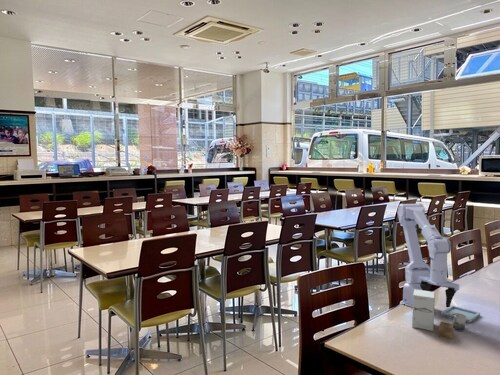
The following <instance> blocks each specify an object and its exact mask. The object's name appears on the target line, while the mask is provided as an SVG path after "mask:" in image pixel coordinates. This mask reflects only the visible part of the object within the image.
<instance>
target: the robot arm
mask: <svg viewBox="0 0 500 375" xmlns="http://www.w3.org/2000/svg"><path fill="white" fill-rule="evenodd" d="M396 213H397V218H398V221H399V224H400V225H402V228H403V232H404V239H405V243H406V249H407V253H408V257H409V262H410V263H409V264H407V265H406V266H405V268H404V270H405V276H404V277H405V281H406V282H405V283H404V285H403V289H402V302H401V304H402V305H404V304H405V305H404V306H408V307H411V308H413V294H414V289H417V290H424V291H430V292H431V288H432V285H434V286H438V287H442V288H445V290H444V292H445V298H446V299H445V307H446V308H449V307H450V306H451V304H452V300H453V299H454V296H455V294H456V293H457V292H458V291H460V284H458V283H455V282H451V281H449V280H448V279H447V278H448V277H447V276H448V254H449V253H451V250H452V246H451V245H452V244H451V242H450V239H449V238H447V237H444V236H442V235H441V233H440V232H439V230H438V229H437V227H436V226H435V225H432V224H430V222H429V220H428V218H427V216H426V208H425V206H424V205H423V203H419V202H418V203H400V204H399V205H398V207H397V212H396ZM416 225H418V226H419V228H420V229H421V231H420V233H421V235H422V236H423V238H424V240H425V241H426V242H427V249H428V255H429V258H430V264H427V263H426V262H424V260H423V255H422V251H421V246H420V241H419V238H418V234H417V229H416V228H417V227H416Z"/></svg>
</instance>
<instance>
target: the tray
mask: <svg viewBox="0 0 500 375" xmlns="http://www.w3.org/2000/svg"><path fill="white" fill-rule="evenodd" d="M454 313H459V314H463V315H465V316H466V322H465V323H466V324H472V323H473V322H474V321H476V320H477V319H478V318H479V317H480V316H481V312H478V311H475V310H471V309H467V308H463V307H460V306H456V305H453V304H452V305H450V307H446V308H445V309H444V310H443V311H441V312H440V314H441V316H443V317H446V318H449V319H453V314H454Z"/></svg>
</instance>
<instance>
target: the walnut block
mask: <svg viewBox="0 0 500 375" xmlns="http://www.w3.org/2000/svg"><path fill="white" fill-rule="evenodd" d="M453 335H454V329H453V323H450V322H444V321H440V322H439V325H438V337H441V338H444V339H450V340H452V339H453Z"/></svg>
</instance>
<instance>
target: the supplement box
mask: <svg viewBox="0 0 500 375" xmlns="http://www.w3.org/2000/svg"><path fill="white" fill-rule="evenodd" d="M435 300H436V292H435V291H431V290H430V291H424V290H417V289H414V294H413V307H412V316H411V317H412V318H411V322H412V323H411V327H412V328H416V329H422V330H427V331H431V332H434V326H435V325H434V324H435V323H434V322H435Z"/></svg>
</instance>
